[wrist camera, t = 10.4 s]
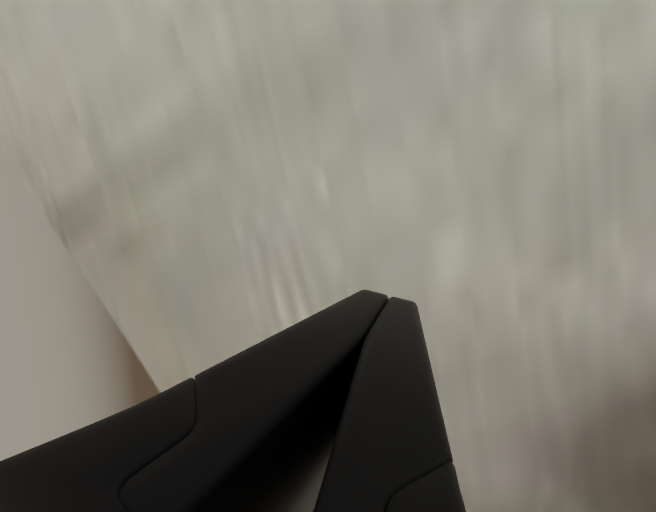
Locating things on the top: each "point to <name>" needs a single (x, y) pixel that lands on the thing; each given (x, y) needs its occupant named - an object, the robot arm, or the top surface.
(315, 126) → the top surface
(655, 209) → the top surface
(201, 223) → the top surface
